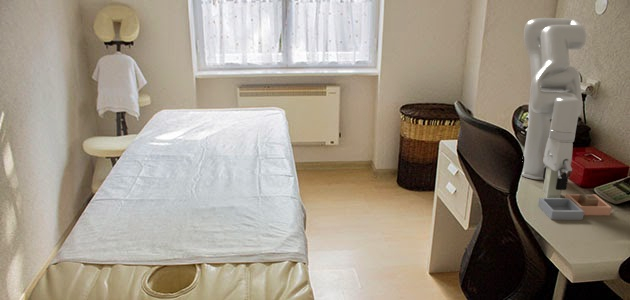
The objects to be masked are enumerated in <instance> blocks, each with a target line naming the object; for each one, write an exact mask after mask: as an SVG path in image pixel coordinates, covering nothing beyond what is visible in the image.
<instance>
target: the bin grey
mask: <svg viewBox="0 0 630 300" xmlns="http://www.w3.org/2000/svg"><path fill="white" fill-rule="evenodd" d="M537 203H538V204H537V207H538V208H540V210H541V211H542V212H543V213H544V214H545V215H546V216H547V217H548V218H549V219H550V220H557V221H558V220H559V221H560V220H562V221H565V220H566V221H567V220H571V221H572V220H575V221H576V220H577V221H578V220H581V221H583V219H584V216H585V215H584V211H583V210H582V209H581V208H580V207H578V206H577V205H576V204H575V203H574V202H573V201H572V200H571V199H570V198H566V197H563V198H562V197H560V198H546V197H539V199H538V202H537Z"/></svg>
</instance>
